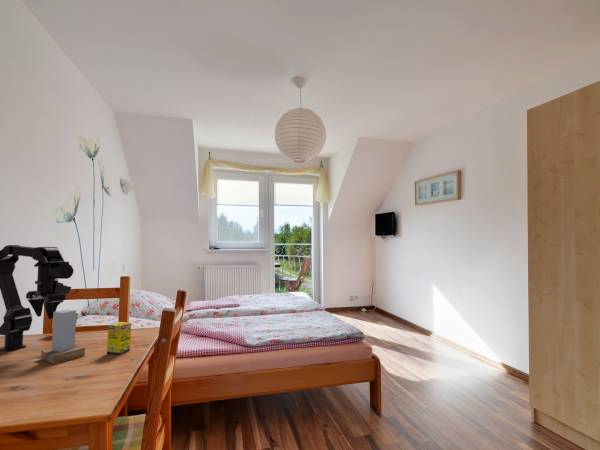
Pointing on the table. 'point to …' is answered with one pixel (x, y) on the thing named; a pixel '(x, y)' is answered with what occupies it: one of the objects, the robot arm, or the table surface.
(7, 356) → the table surface
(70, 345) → the slate block
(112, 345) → the supplement box
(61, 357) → the walnut block
